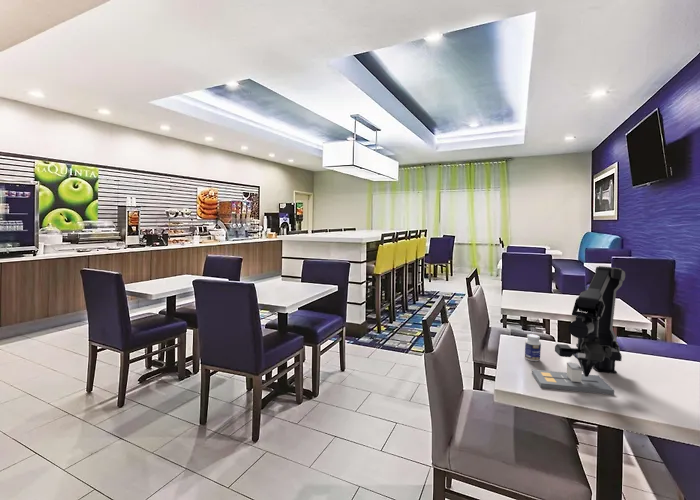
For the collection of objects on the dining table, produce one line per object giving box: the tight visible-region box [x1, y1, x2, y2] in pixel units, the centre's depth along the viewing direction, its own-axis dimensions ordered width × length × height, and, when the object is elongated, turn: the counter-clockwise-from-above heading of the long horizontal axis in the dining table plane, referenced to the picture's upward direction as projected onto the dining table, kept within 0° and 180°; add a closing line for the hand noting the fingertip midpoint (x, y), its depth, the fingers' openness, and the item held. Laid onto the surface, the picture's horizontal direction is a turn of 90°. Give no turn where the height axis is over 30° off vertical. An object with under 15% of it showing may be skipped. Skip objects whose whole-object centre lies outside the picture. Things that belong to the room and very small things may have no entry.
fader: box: [566, 362, 583, 382], centre depth 126 cm, size 3×5×5 cm, turn 166°
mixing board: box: [531, 369, 615, 396], centre depth 126 cm, size 22×12×2 cm, turn 76°
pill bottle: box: [524, 333, 542, 362], centre depth 149 cm, size 6×6×10 cm
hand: (585, 376), depth 125 cm, fingers closed
